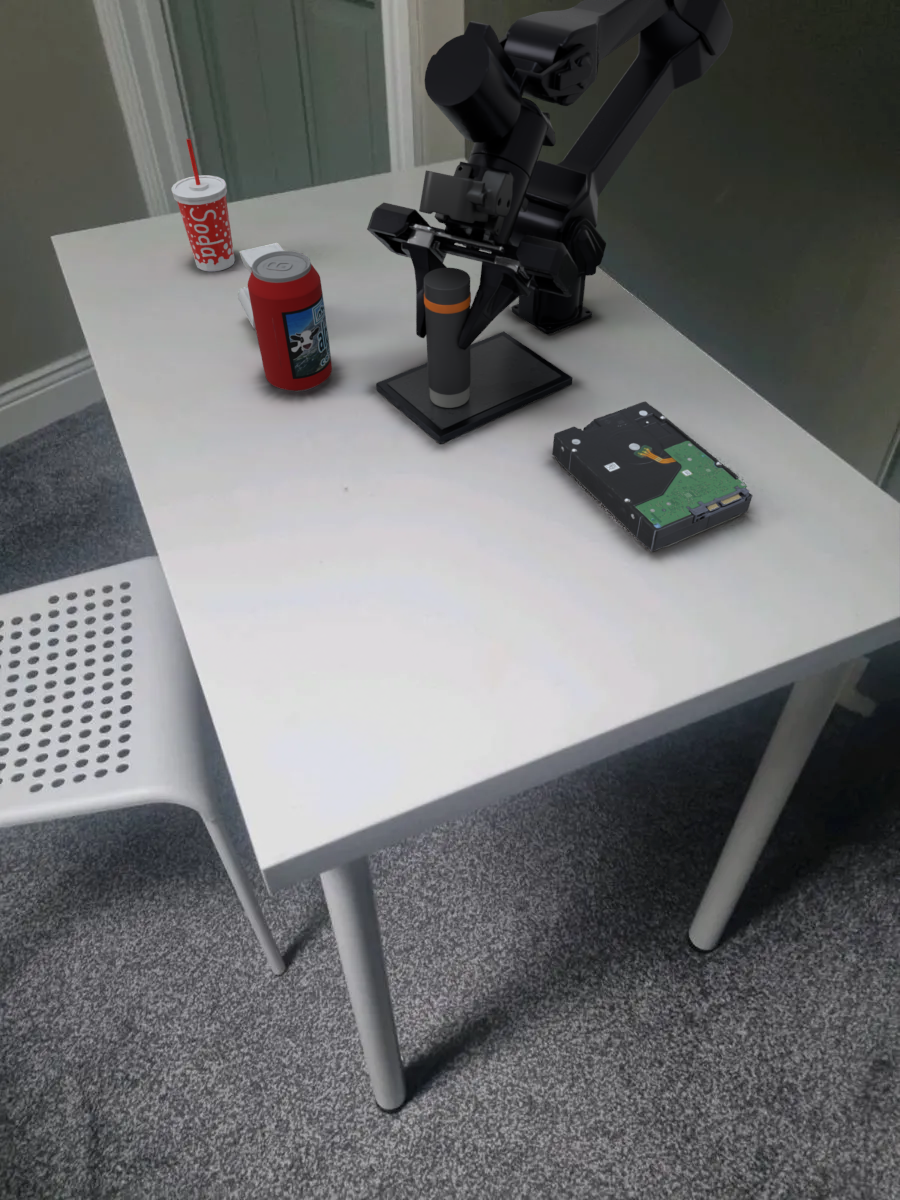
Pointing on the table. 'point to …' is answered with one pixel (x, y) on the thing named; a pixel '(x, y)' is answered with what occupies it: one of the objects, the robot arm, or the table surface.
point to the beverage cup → (205, 218)
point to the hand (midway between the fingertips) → (440, 342)
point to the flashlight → (447, 335)
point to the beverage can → (290, 320)
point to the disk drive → (651, 475)
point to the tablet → (478, 387)
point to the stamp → (248, 259)
